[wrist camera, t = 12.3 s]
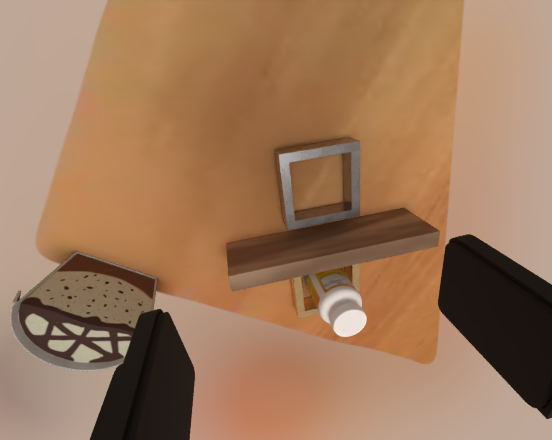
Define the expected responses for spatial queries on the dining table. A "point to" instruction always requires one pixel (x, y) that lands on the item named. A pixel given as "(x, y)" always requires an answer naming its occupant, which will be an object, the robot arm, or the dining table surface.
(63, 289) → the food container
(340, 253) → the brown wooden plank
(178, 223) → the dining table surface
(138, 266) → the dining table surface
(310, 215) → the double square frame
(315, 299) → the supplement bottle
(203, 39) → the dining table surface
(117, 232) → the dining table surface
